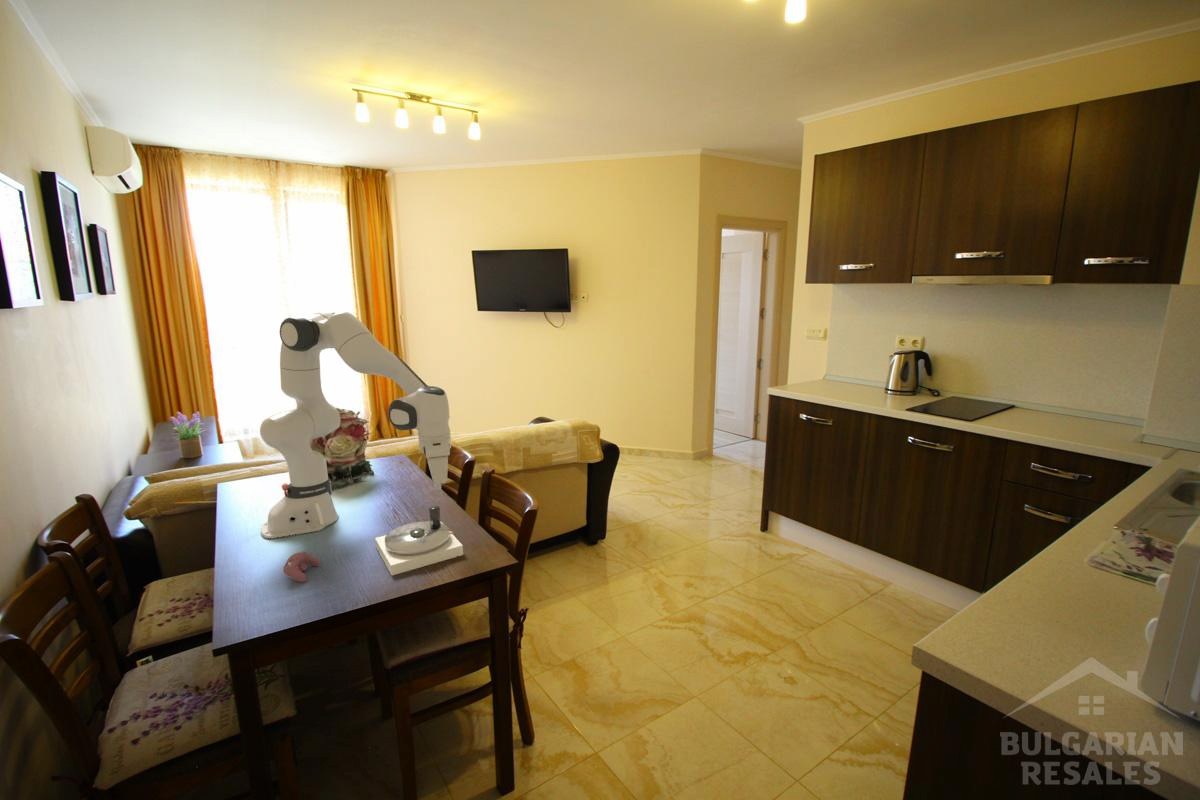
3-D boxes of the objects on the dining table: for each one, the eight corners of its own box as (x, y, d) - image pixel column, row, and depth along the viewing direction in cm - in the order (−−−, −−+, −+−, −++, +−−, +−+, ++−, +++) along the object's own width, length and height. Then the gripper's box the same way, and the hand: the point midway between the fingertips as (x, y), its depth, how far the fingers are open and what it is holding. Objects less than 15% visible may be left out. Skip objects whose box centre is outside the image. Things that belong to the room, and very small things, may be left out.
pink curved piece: (308, 570, 151) (293, 550, 149) (322, 562, 150) (308, 543, 149) (292, 589, 141) (276, 568, 139) (307, 581, 141) (291, 560, 139)
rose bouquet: (294, 481, 219) (284, 409, 213) (366, 464, 239) (359, 399, 233) (313, 497, 201) (304, 420, 195) (390, 478, 221) (383, 407, 215)
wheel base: (391, 575, 144) (390, 564, 143) (376, 547, 160) (374, 537, 160) (464, 554, 155) (463, 544, 154) (442, 530, 171) (441, 520, 171)
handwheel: (409, 561, 145) (407, 534, 143) (372, 544, 155) (369, 518, 153) (462, 537, 159) (460, 511, 157) (424, 522, 169) (422, 498, 168)
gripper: (421, 434, 162) (424, 477, 165) (426, 453, 143) (429, 501, 146) (442, 432, 164) (445, 475, 167) (450, 451, 146) (453, 498, 148)
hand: (437, 487), depth 156 cm, fingers closed
